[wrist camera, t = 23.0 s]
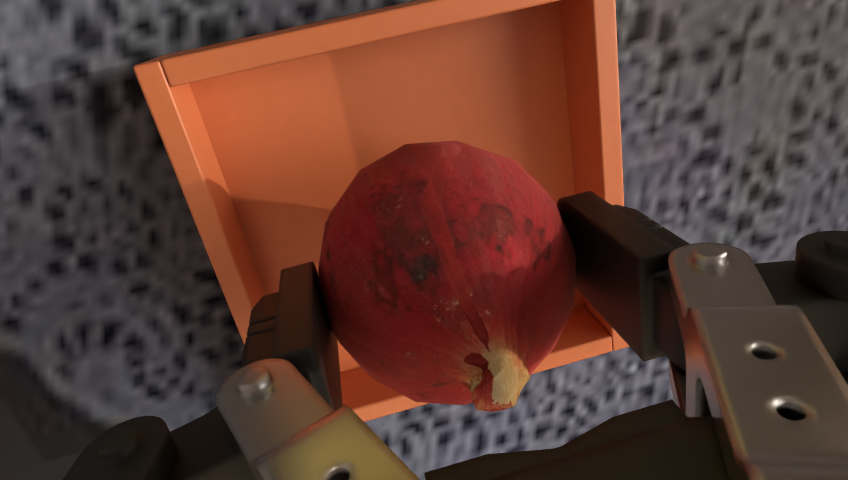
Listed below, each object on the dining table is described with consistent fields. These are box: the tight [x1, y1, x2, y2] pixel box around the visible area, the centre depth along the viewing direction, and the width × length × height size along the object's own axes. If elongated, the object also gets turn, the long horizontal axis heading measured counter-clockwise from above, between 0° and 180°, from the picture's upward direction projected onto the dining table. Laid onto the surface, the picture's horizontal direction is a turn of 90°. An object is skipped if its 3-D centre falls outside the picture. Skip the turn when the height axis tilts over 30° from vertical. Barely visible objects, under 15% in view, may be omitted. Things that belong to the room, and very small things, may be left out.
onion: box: [318, 141, 576, 411], centre depth 13 cm, size 6×6×8 cm
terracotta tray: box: [133, 0, 629, 422], centre depth 16 cm, size 11×11×2 cm
